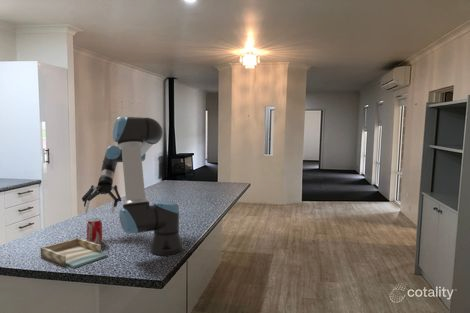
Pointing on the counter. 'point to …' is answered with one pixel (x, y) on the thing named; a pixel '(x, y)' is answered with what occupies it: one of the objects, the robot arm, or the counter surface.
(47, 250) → the truck bed
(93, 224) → the soda can
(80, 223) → the counter surface
